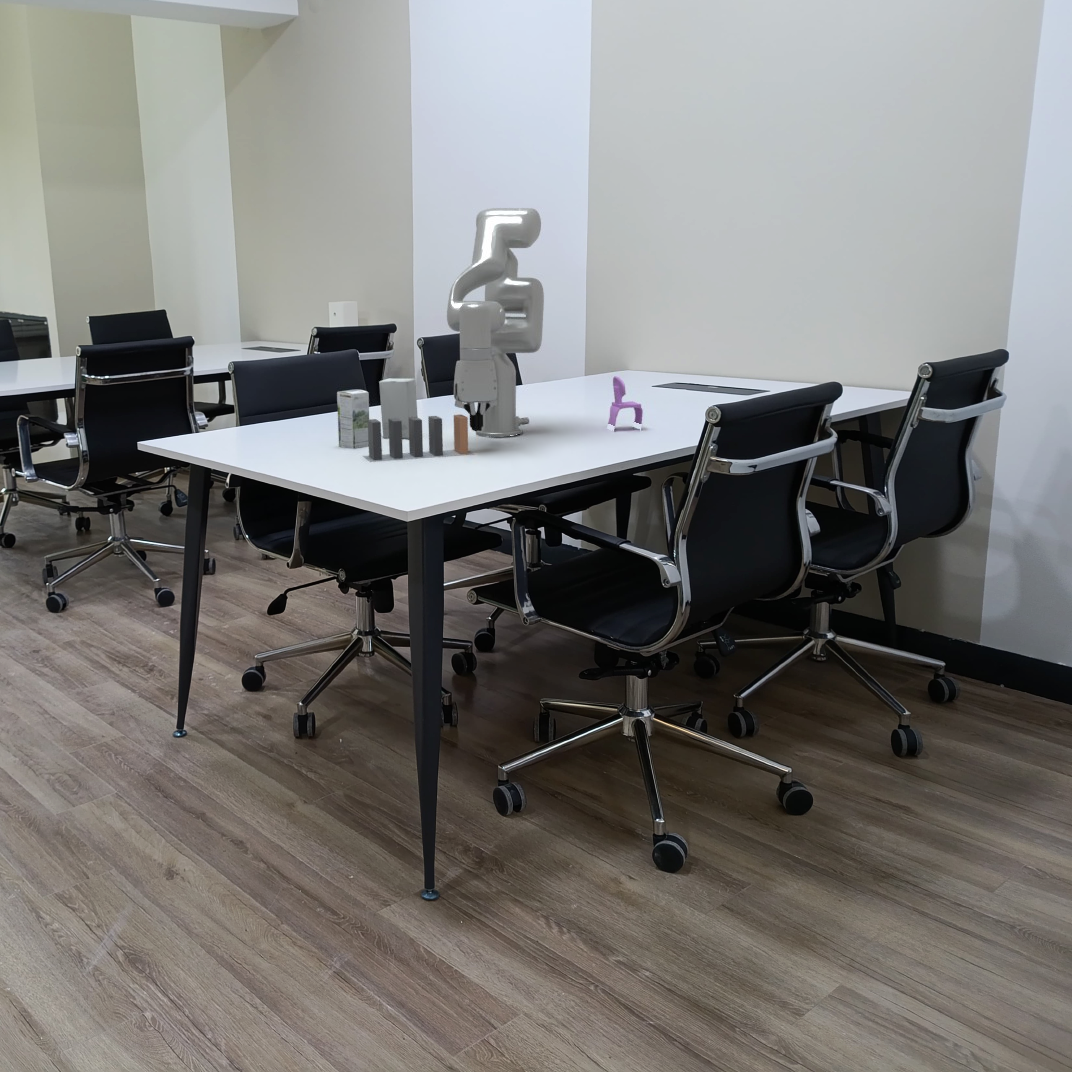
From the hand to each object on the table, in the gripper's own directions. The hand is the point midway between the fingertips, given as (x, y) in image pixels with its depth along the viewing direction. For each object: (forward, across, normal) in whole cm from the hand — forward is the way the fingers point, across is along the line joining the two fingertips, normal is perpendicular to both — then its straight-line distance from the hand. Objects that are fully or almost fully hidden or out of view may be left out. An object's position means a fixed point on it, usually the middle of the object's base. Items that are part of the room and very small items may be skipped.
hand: (476, 430), depth 259 cm
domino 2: (+5, +20, 0) cm, 21 cm away
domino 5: (+5, +4, 0) cm, 7 cm away
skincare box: (+6, +12, -30) cm, 33 cm away
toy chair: (+6, -51, -20) cm, 55 cm away
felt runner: (+6, +15, 0) cm, 16 cm away
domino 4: (+5, +10, 0) cm, 12 cm away
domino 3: (+5, +16, 0) cm, 16 cm away
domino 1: (+5, +26, 0) cm, 26 cm away
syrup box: (+6, +26, -19) cm, 33 cm away
